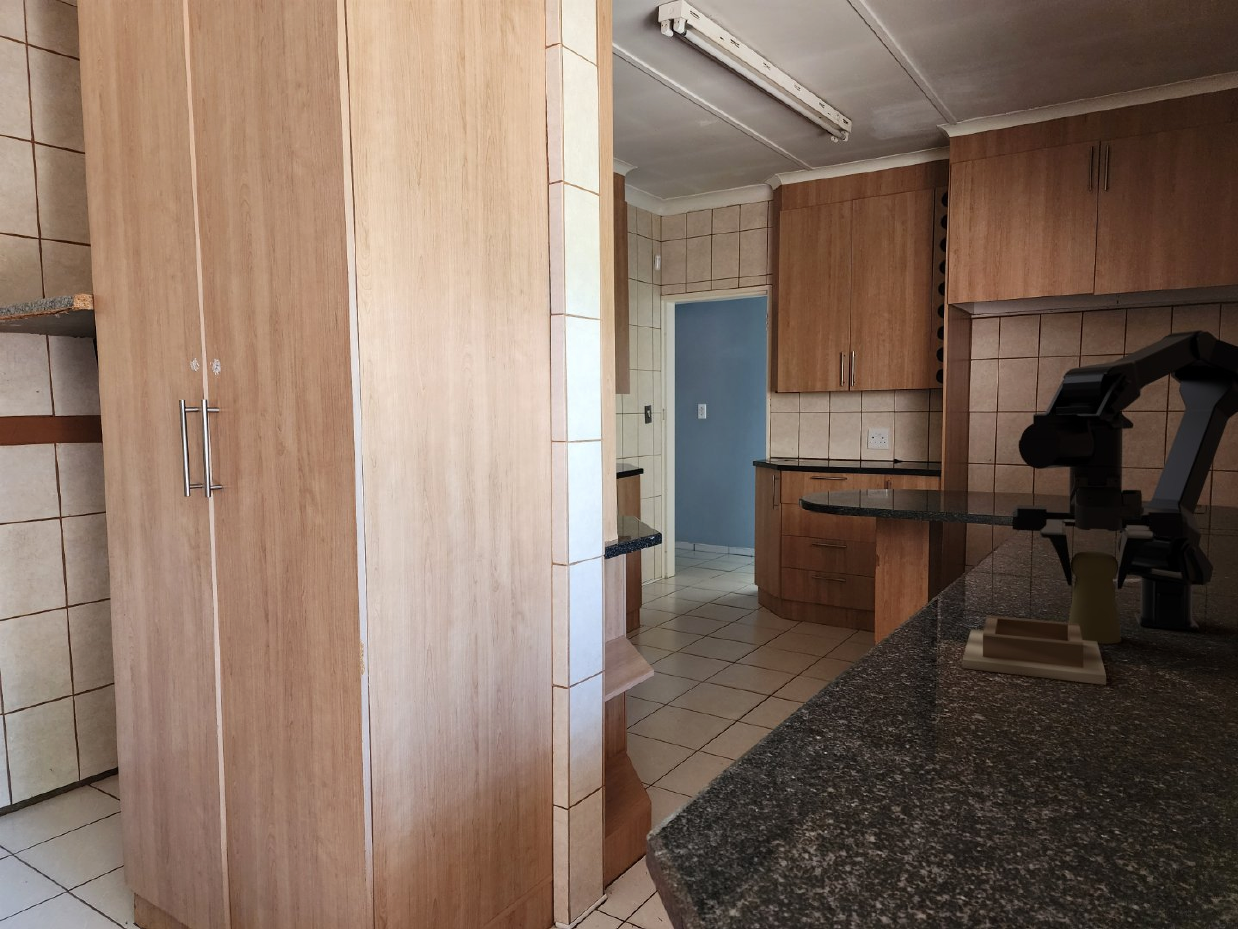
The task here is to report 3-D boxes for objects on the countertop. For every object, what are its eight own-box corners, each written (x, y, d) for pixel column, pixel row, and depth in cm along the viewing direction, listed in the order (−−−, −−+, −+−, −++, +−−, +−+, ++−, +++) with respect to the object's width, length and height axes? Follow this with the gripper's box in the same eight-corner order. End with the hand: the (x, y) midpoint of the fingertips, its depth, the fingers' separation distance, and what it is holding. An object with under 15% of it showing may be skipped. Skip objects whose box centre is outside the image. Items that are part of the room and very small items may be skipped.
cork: (1129, 644, 97) (1131, 556, 97) (1076, 642, 98) (1077, 556, 98) (1109, 631, 103) (1110, 548, 103) (1059, 630, 104) (1060, 548, 104)
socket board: (971, 637, 102) (971, 610, 102) (1096, 649, 95) (1097, 621, 95) (962, 668, 90) (962, 638, 90) (1106, 685, 83) (1106, 652, 83)
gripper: (1011, 469, 97) (1011, 593, 98) (1197, 470, 88) (1194, 607, 89) (1013, 463, 107) (1013, 577, 108) (1181, 464, 98) (1178, 588, 99)
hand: (1094, 586), depth 100 cm, fingers closed on cork, 5 cm apart
